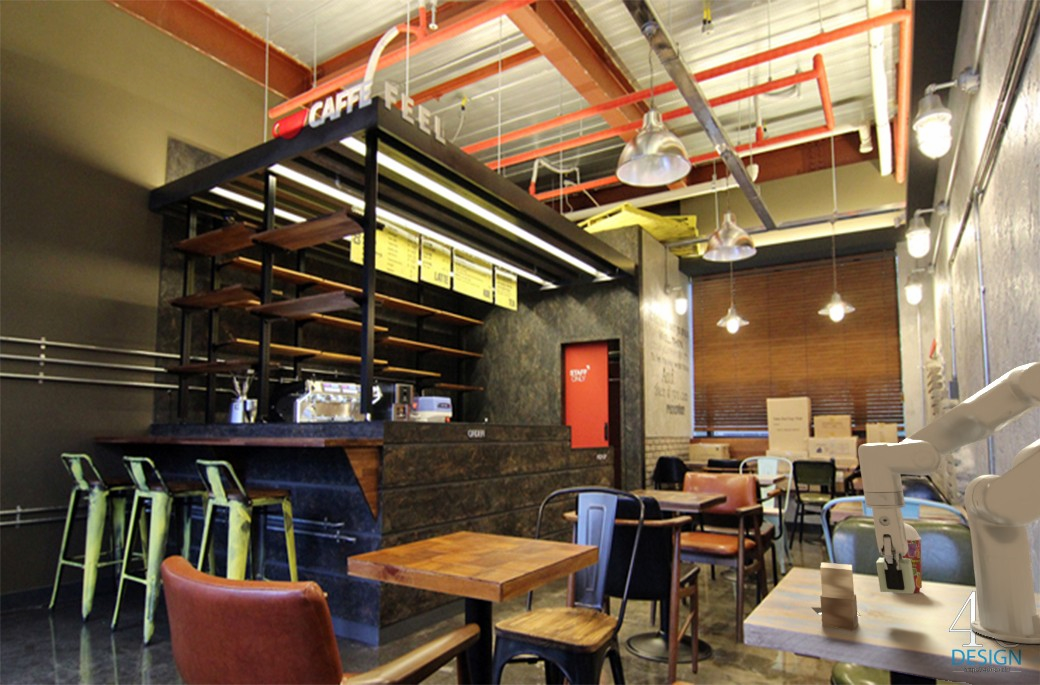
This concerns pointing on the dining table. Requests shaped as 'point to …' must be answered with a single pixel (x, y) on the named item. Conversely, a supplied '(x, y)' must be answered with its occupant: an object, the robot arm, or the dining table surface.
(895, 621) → the dining table surface
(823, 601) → the tower base
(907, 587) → the sage block
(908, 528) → the smoothie
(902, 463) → the robot arm
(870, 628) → the dining table surface
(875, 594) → the dining table surface
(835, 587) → the tower top
